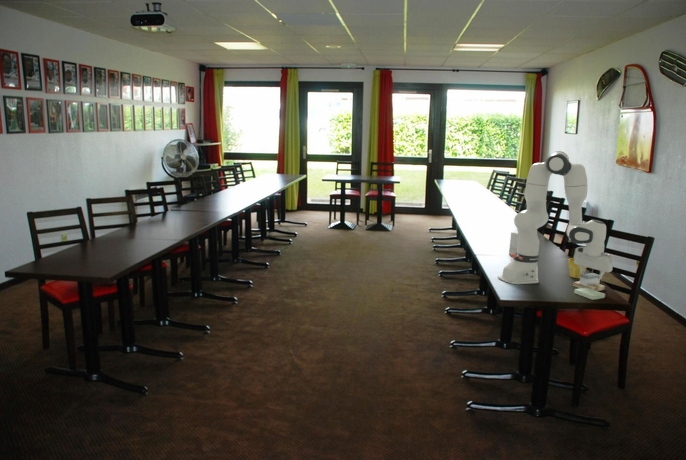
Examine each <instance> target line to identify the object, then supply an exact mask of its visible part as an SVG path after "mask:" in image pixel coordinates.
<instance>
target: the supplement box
mask: <svg viewBox="0 0 686 460" xmlns="http://www.w3.org/2000/svg"><path fill="white" fill-rule="evenodd" d="M509 240H510V241H509V242H510V243H509V251H508V255H509V256H511V254H516V252H517V248H518V231H517V230H512V231H511V232H510V239H509Z"/></svg>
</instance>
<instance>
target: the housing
mask: <svg viewBox="0 0 686 460" xmlns="http://www.w3.org/2000/svg"><path fill="white" fill-rule="evenodd" d="M598 275H599V274H597V273H594V272H590V273H585V274H581V277H580V278H579V284H581V285H584V286H592V285H598V284H600V280H601V279H598V278H597V277H598Z"/></svg>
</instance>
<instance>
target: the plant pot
mask: <svg viewBox="0 0 686 460" xmlns="http://www.w3.org/2000/svg"><path fill="white" fill-rule="evenodd" d="M567 260H568V261H567V265H568V268H569V276H570V278H574V279H580V277H581V269H580V265H577V264H575V263H574V257H570V258H568V259H567ZM583 268H584V271H586V269H587V268H588V267H585V266H584V267H583Z"/></svg>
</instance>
